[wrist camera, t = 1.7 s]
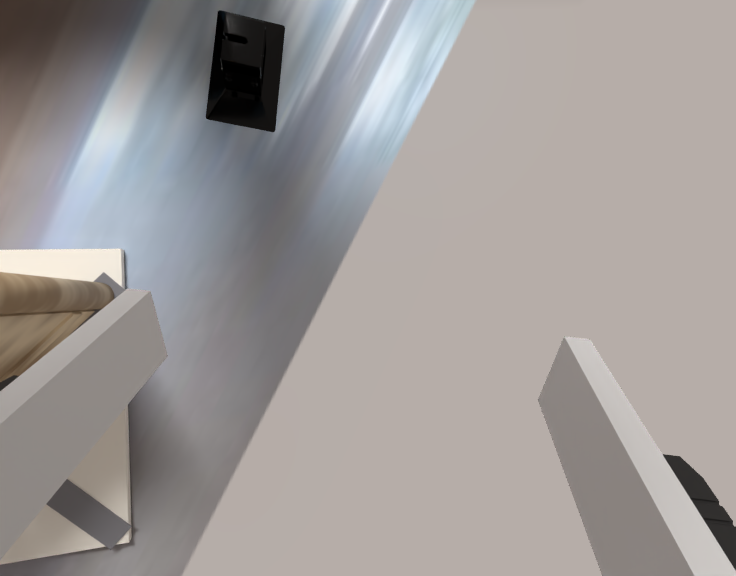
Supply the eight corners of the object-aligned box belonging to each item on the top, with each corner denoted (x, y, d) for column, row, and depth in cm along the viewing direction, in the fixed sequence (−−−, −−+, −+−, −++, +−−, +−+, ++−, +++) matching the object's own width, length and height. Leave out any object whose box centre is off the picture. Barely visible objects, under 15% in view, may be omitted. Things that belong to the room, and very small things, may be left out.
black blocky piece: (211, -6, 33) (201, -54, 28) (298, 17, 34) (302, -25, 30) (194, 137, 32) (182, 110, 28) (284, 153, 34) (286, 130, 29)
